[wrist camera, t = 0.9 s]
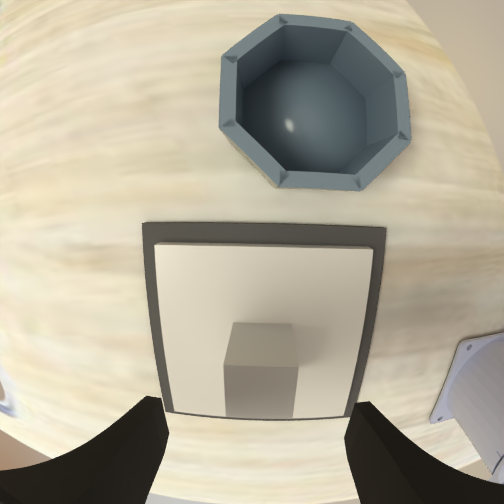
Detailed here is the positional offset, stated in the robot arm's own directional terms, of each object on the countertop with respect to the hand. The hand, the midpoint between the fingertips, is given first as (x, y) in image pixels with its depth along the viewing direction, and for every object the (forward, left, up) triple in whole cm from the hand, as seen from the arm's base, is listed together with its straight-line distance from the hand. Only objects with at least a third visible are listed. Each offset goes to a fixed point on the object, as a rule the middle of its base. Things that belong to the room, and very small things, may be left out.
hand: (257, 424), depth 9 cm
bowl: (-2, -12, -7) cm, 14 cm away
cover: (0, 0, -7) cm, 7 cm away
